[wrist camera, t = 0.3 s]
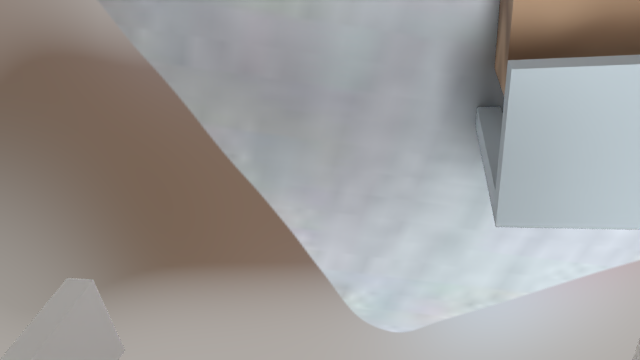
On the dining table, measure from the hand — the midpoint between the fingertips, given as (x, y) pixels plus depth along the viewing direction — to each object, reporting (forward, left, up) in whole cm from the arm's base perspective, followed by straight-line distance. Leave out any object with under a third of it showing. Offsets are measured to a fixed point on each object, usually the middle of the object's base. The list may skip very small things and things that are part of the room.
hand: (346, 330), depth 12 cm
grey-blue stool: (+4, +13, -27) cm, 30 cm away
